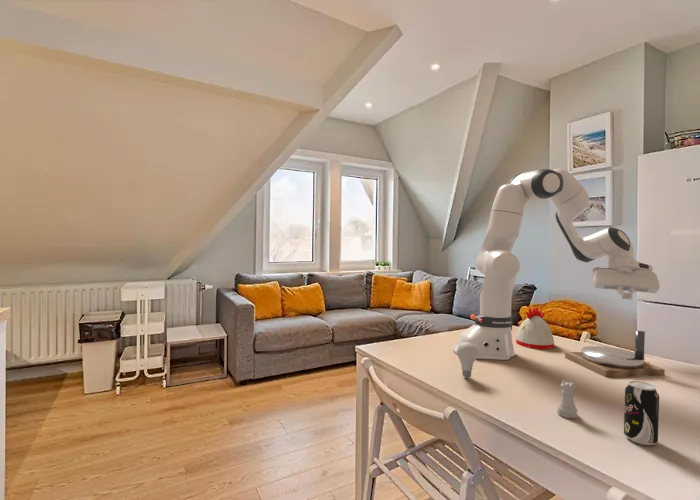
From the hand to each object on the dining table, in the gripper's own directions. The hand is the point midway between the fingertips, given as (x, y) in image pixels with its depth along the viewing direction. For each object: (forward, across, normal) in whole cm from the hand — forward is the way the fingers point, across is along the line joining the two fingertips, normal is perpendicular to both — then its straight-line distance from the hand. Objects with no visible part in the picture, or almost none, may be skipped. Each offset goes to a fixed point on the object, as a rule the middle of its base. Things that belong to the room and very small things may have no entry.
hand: (627, 298), depth 136 cm
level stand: (+26, -6, +4) cm, 27 cm away
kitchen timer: (+14, -29, +19) cm, 37 cm away
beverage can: (+63, -12, -35) cm, 73 cm away
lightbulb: (+50, -50, -18) cm, 73 cm away
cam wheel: (+24, -6, +3) cm, 25 cm away
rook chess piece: (+59, -24, -30) cm, 71 cm away
